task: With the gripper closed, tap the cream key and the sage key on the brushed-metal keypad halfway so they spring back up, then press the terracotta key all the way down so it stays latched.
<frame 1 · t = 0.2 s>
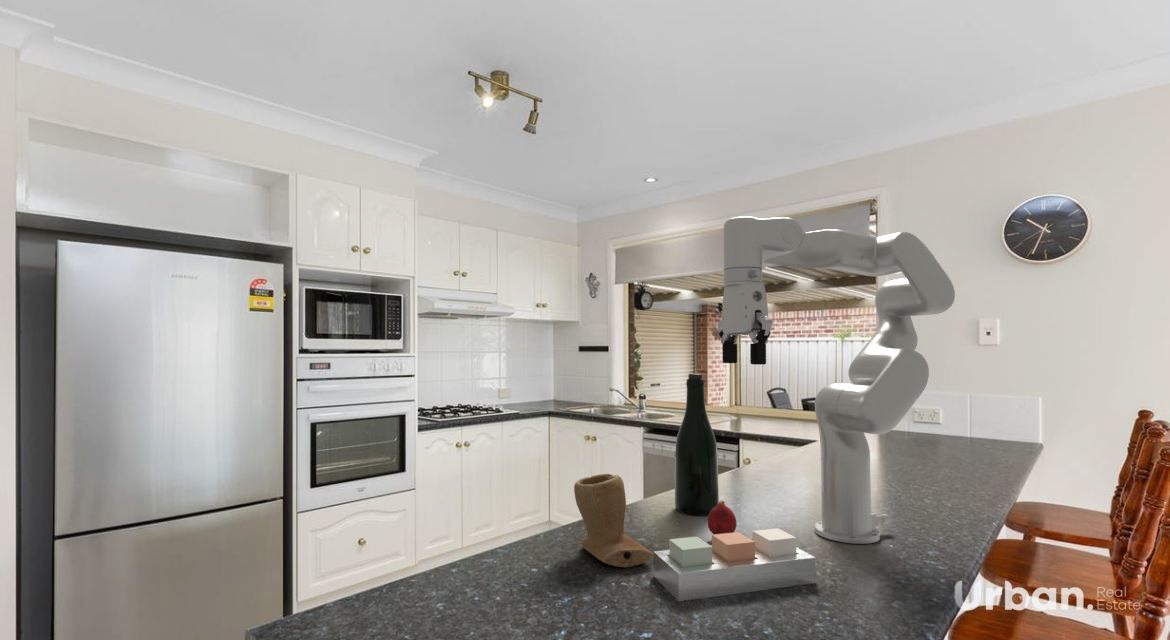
hand: (743, 363, 114), 36 cm above the countertop, tool pointing down, fingers open, 9 cm apart
onion: (722, 541, 115), on the countertop
sage key: (690, 552, 94), point 5 cm above the countertop, slide at 0.0 cm
green wine bottle: (696, 511, 137), on the countertop
terracotta key: (733, 547, 96), point 5 cm above the countertop, slide at 0.0 cm
cream key: (774, 543, 98), point 5 cm above the countertop, slide at 0.0 cm
keypad housing: (733, 579, 96), on the countertop
brown hollow boot-shaped piece: (608, 557, 107), on the countertop
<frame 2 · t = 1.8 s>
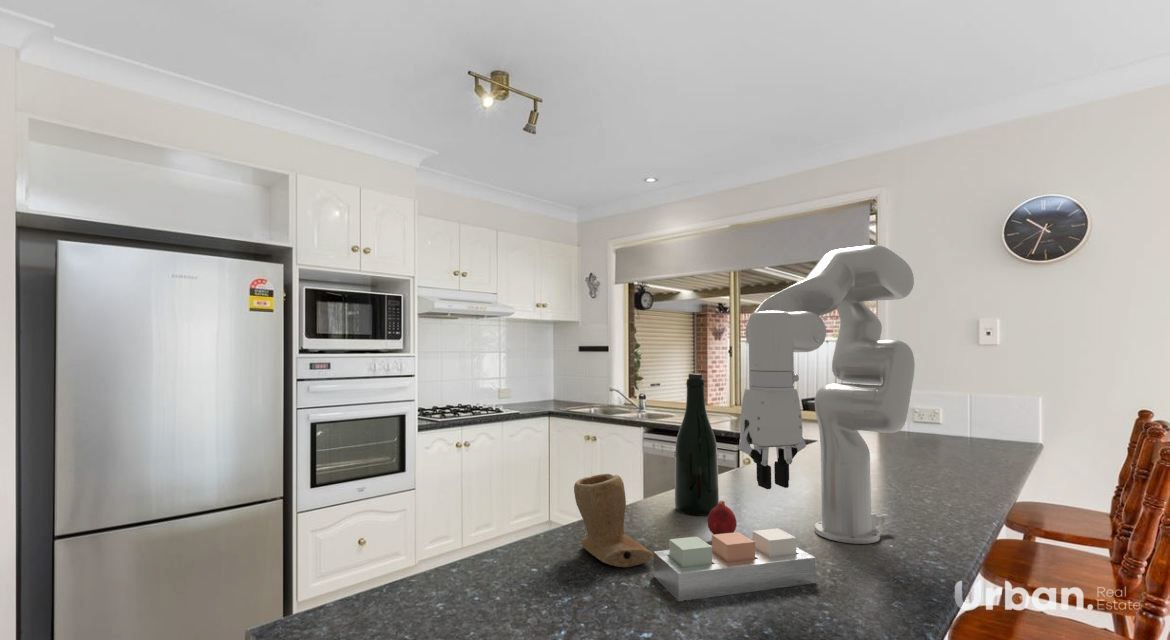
hand: (773, 485, 99), 15 cm above the countertop, tool pointing down, fingers closed
nothing on the countertop moved.
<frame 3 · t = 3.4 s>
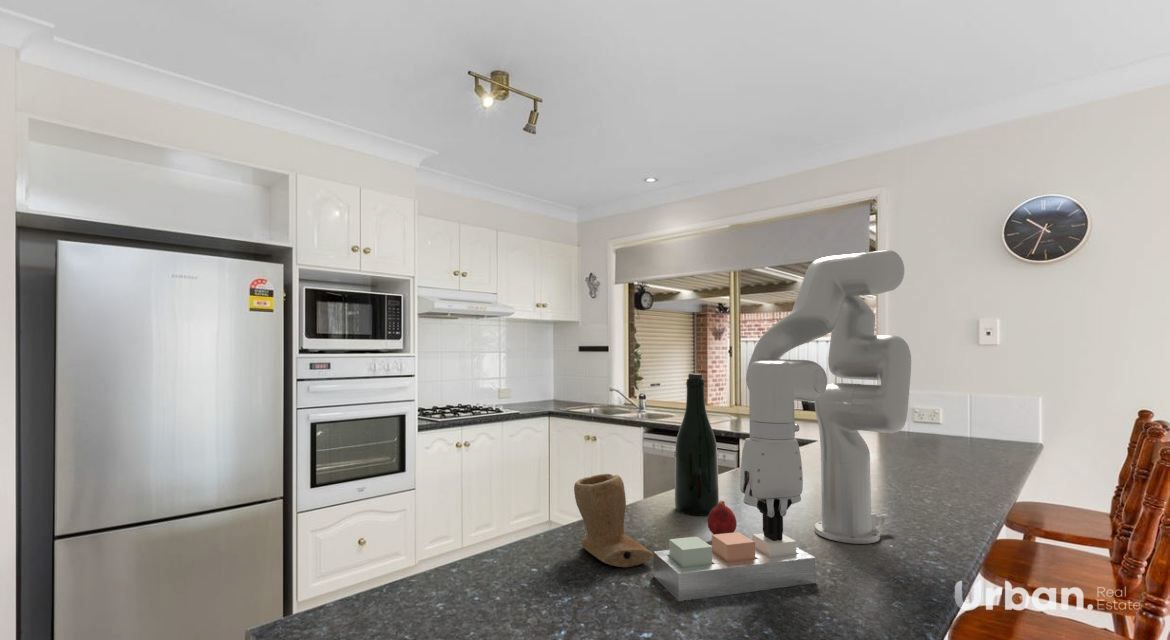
hand: (772, 537, 98), 6 cm above the countertop, tool pointing down, fingers closed
cream key: (774, 546, 98), point 5 cm above the countertop, slide at 0.6 cm, touching gripper
everything else where it was.
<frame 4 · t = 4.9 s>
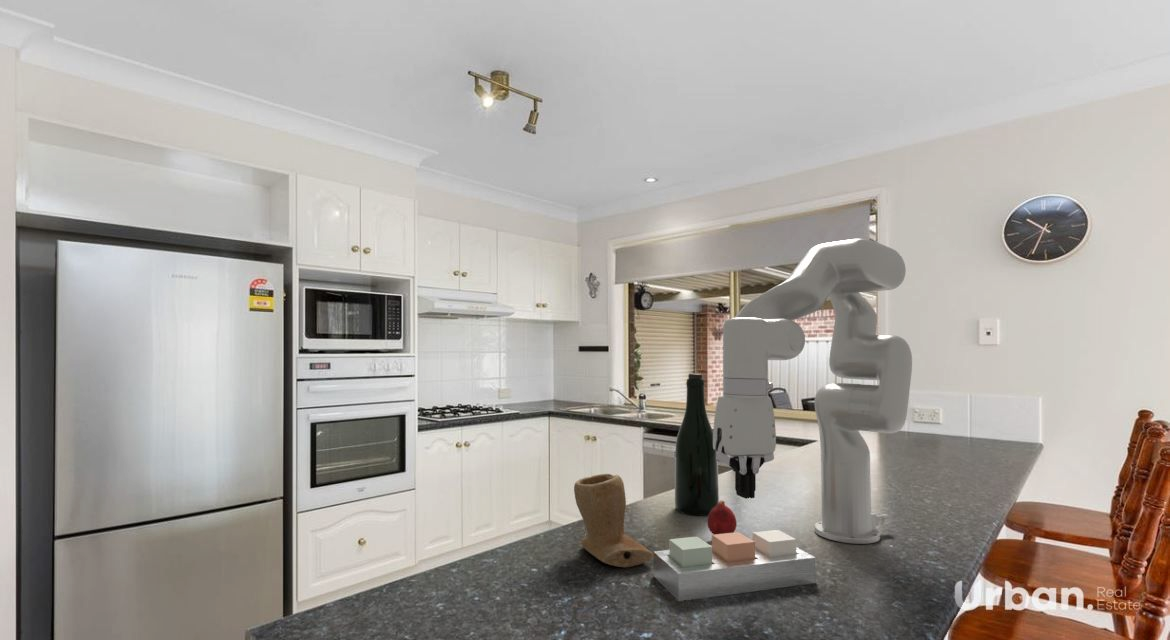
hand: (745, 496, 97), 14 cm above the countertop, tool pointing down, fingers closed
cream key: (774, 544, 98), point 5 cm above the countertop, slide at 0.3 cm
everything else where it was.
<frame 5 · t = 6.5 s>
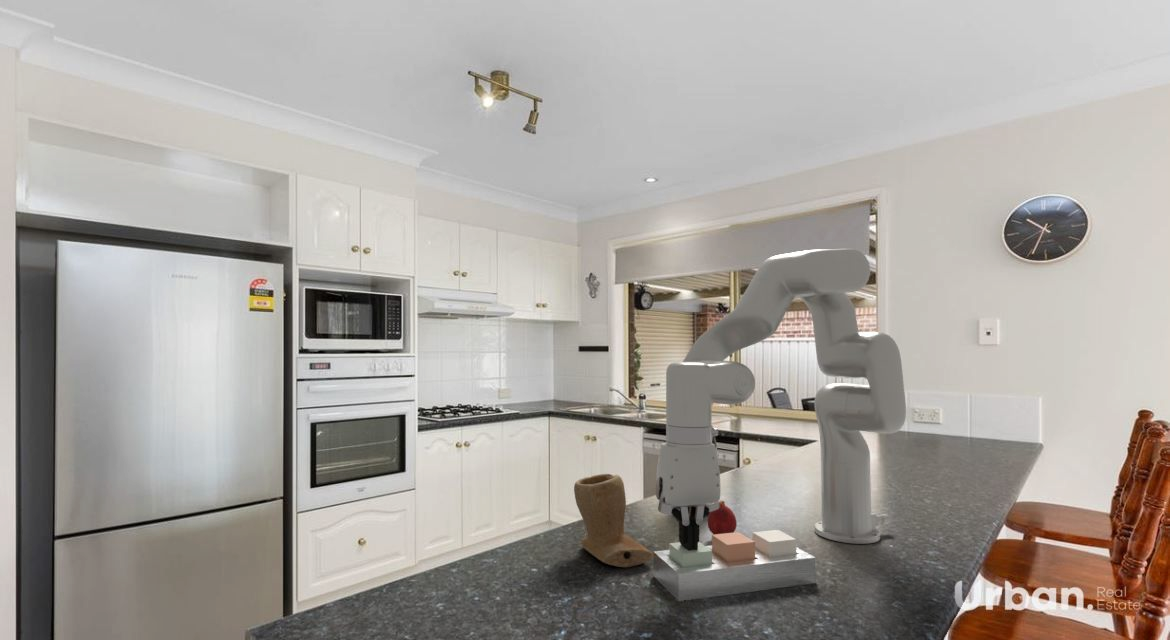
hand: (689, 547, 94), 6 cm above the countertop, tool pointing down, fingers closed
sage key: (690, 556, 94), point 5 cm above the countertop, slide at 0.7 cm, touching gripper
everything else where it was.
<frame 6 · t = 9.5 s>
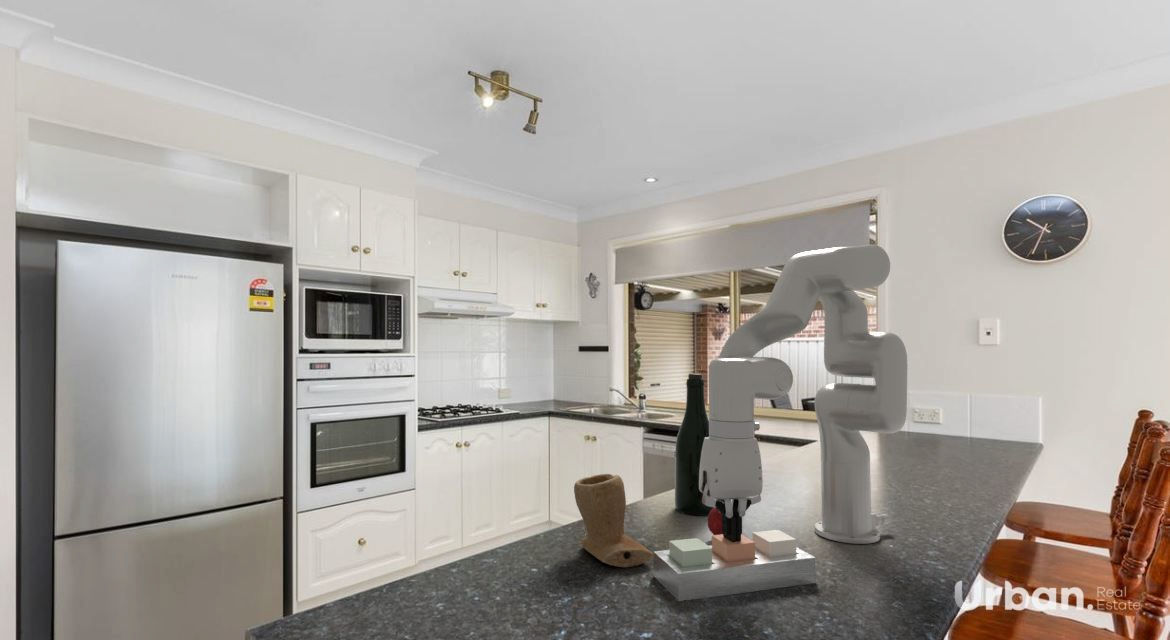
hand: (732, 539, 96), 7 cm above the countertop, tool pointing down, fingers closed
sage key: (690, 553, 94), point 5 cm above the countertop, slide at 0.3 cm
terracotta key: (733, 547, 96), point 5 cm above the countertop, slide at 0.1 cm, touching gripper
everything else where it was.
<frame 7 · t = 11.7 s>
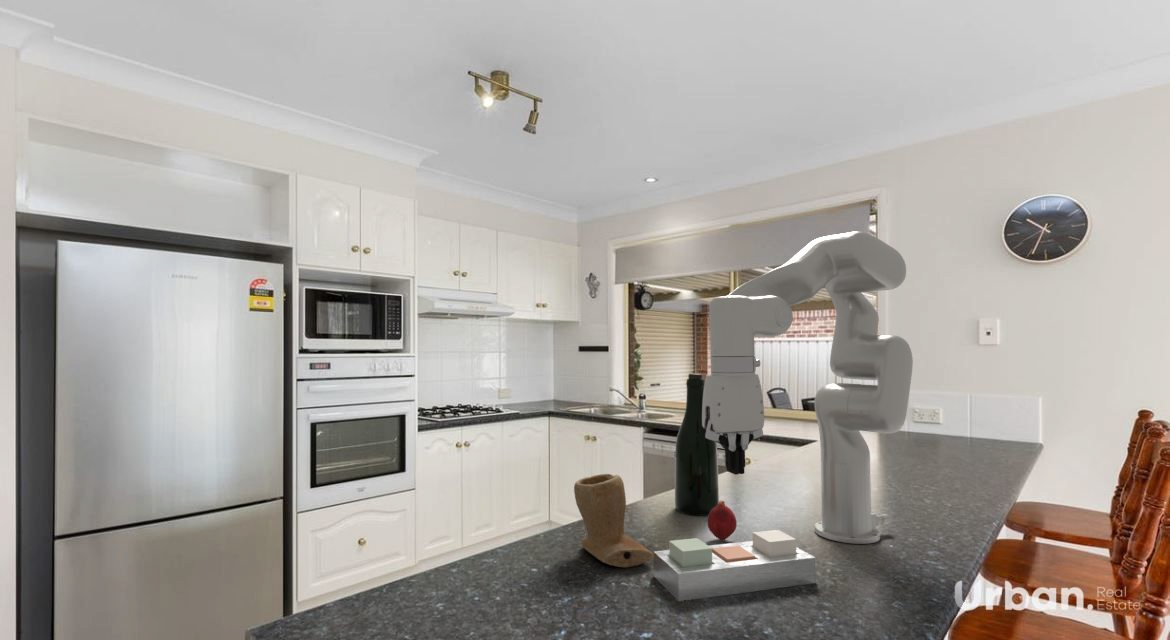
hand: (735, 472, 98), 18 cm above the countertop, tool pointing down, fingers closed
terracotta key: (733, 561, 96), point 3 cm above the countertop, slide at 2.3 cm
everything else where it was.
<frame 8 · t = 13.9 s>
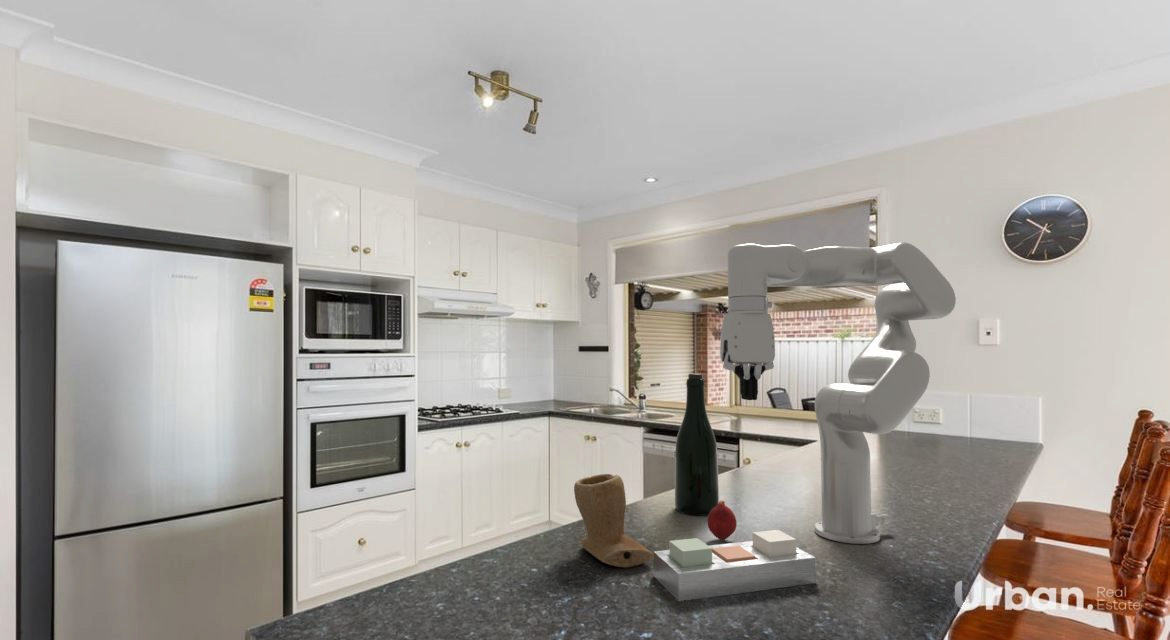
hand: (749, 399, 112), 29 cm above the countertop, tool pointing down, fingers closed
nothing on the countertop moved.
at the end: terracotta key slide at 2.3 cm; cream key slide at 0.3 cm; sage key slide at 0.3 cm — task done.
